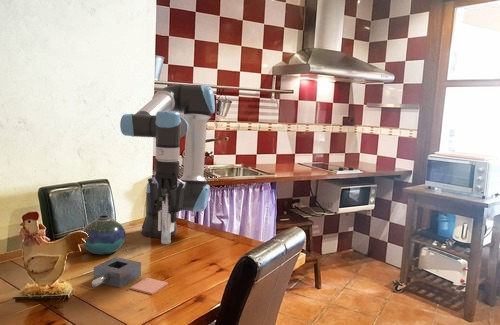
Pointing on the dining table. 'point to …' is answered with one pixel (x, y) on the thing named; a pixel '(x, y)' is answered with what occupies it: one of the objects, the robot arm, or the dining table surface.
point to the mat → (149, 286)
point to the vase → (104, 235)
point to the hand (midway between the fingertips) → (166, 230)
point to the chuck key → (165, 219)
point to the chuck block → (116, 272)
